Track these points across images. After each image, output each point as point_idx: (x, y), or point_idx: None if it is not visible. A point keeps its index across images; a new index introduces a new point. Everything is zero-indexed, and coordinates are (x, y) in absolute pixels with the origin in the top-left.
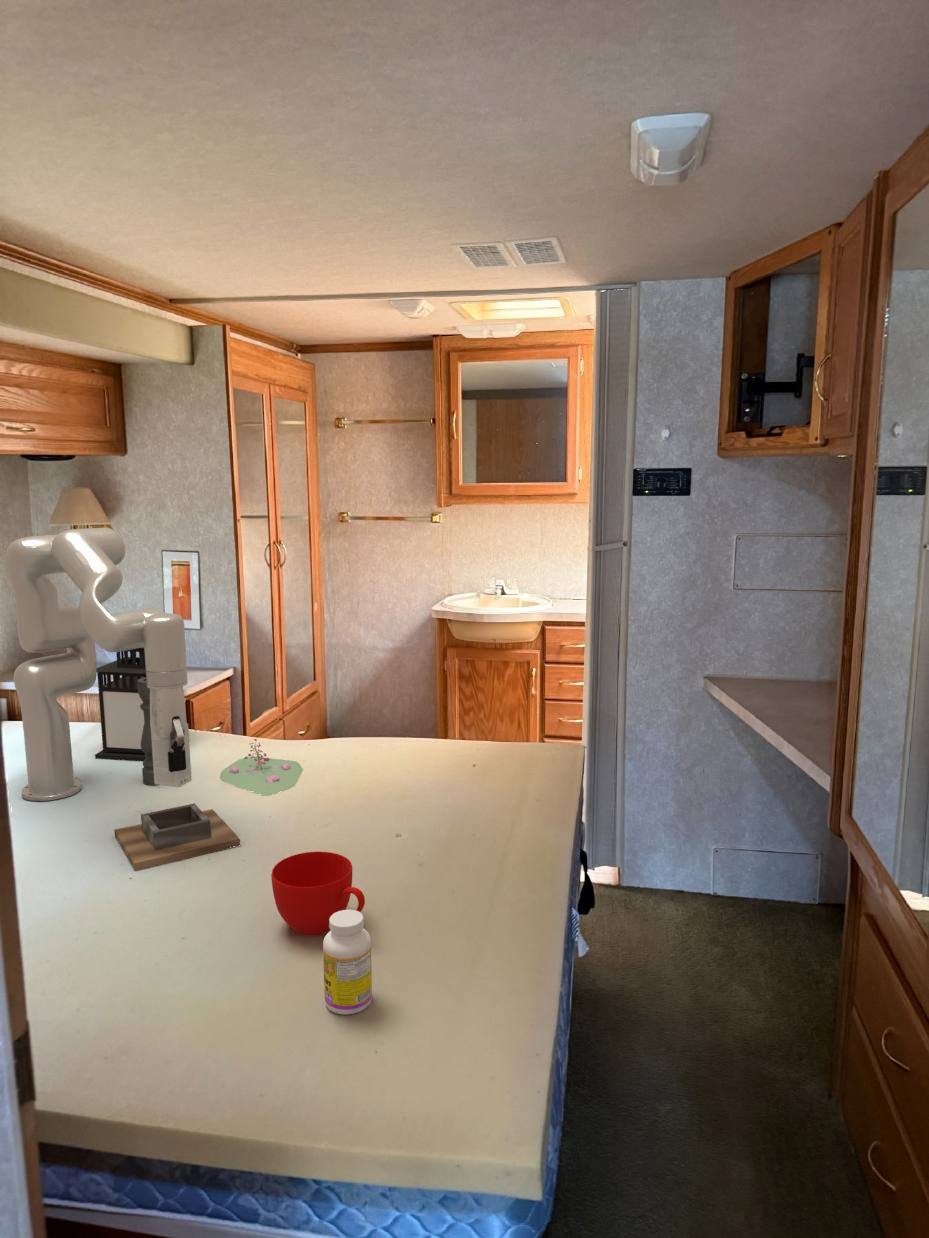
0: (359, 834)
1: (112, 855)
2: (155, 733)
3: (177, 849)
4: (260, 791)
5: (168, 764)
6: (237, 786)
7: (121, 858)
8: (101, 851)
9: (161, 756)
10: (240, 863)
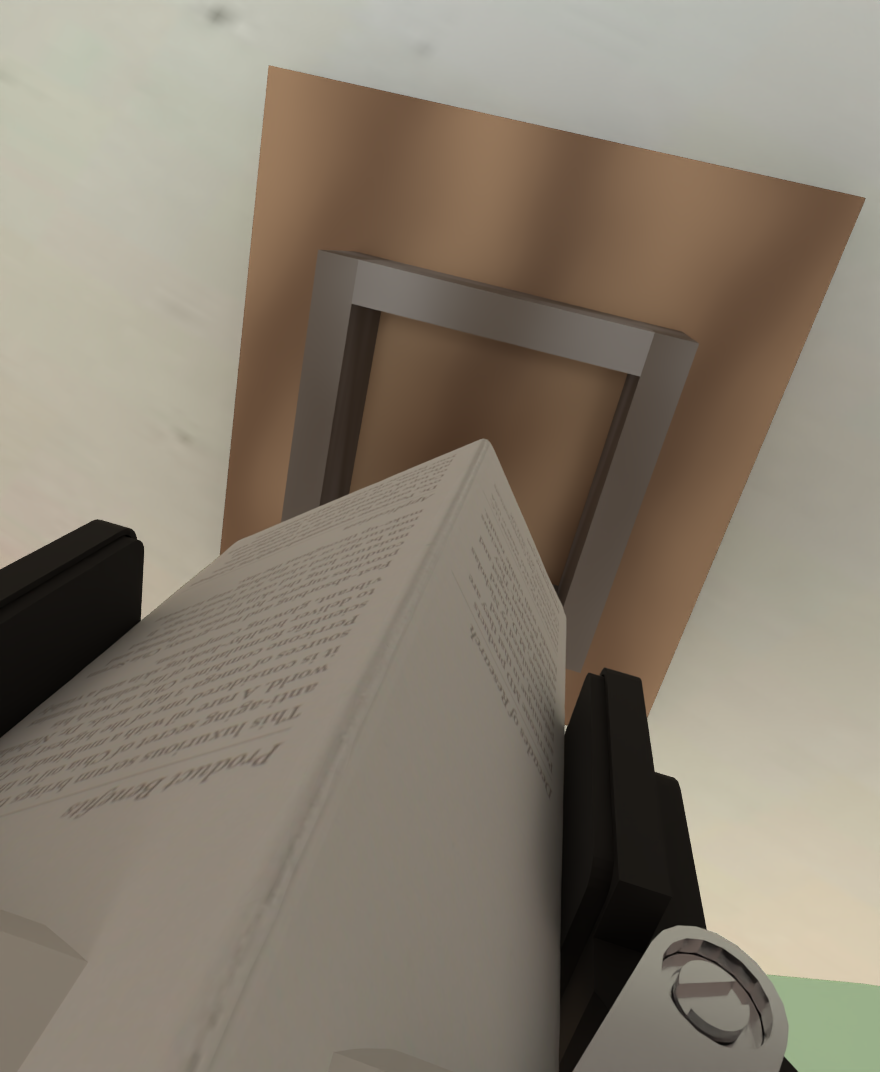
0: None
1: (583, 58)
2: (10, 949)
3: (286, 349)
4: None
5: (66, 556)
6: (864, 988)
7: (499, 87)
8: (700, 22)
9: (263, 618)
10: (73, 504)
